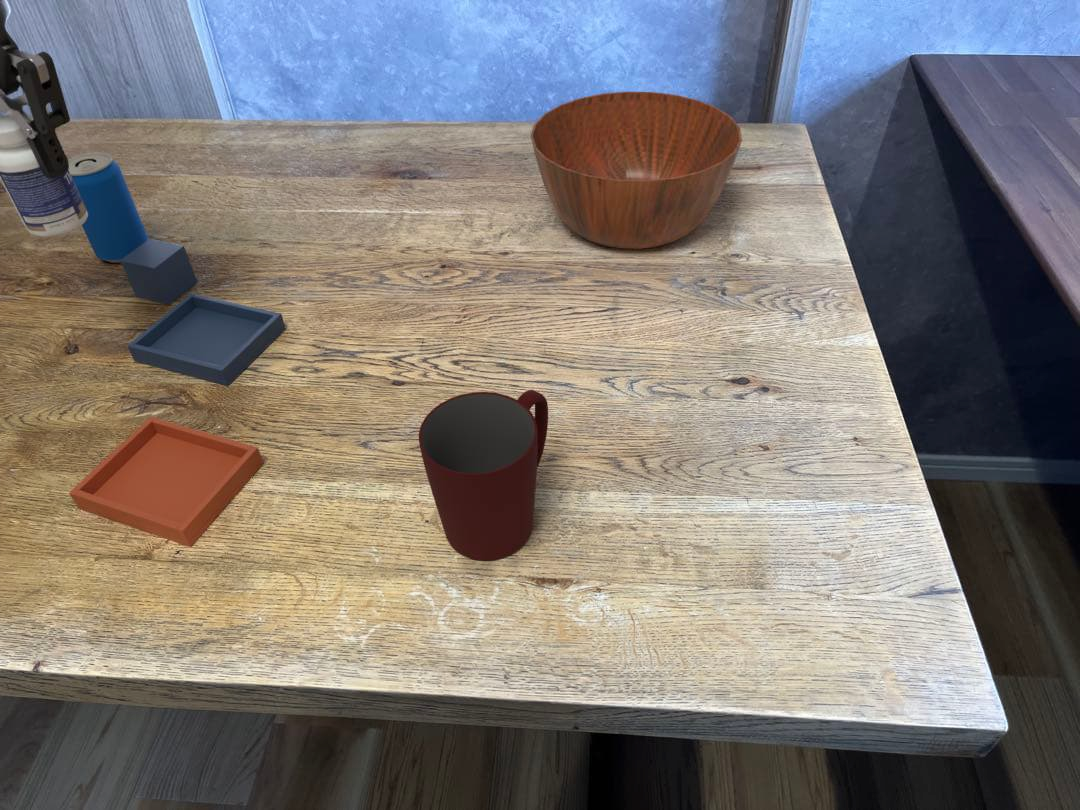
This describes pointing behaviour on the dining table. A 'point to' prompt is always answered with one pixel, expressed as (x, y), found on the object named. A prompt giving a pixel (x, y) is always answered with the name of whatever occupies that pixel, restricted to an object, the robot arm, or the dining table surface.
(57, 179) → the pill bottle
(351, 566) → the dining table surface
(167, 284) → the blue block
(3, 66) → the robot arm
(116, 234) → the beverage can
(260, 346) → the blue tray
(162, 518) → the terracotta tray
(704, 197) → the bowl
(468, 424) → the mug
